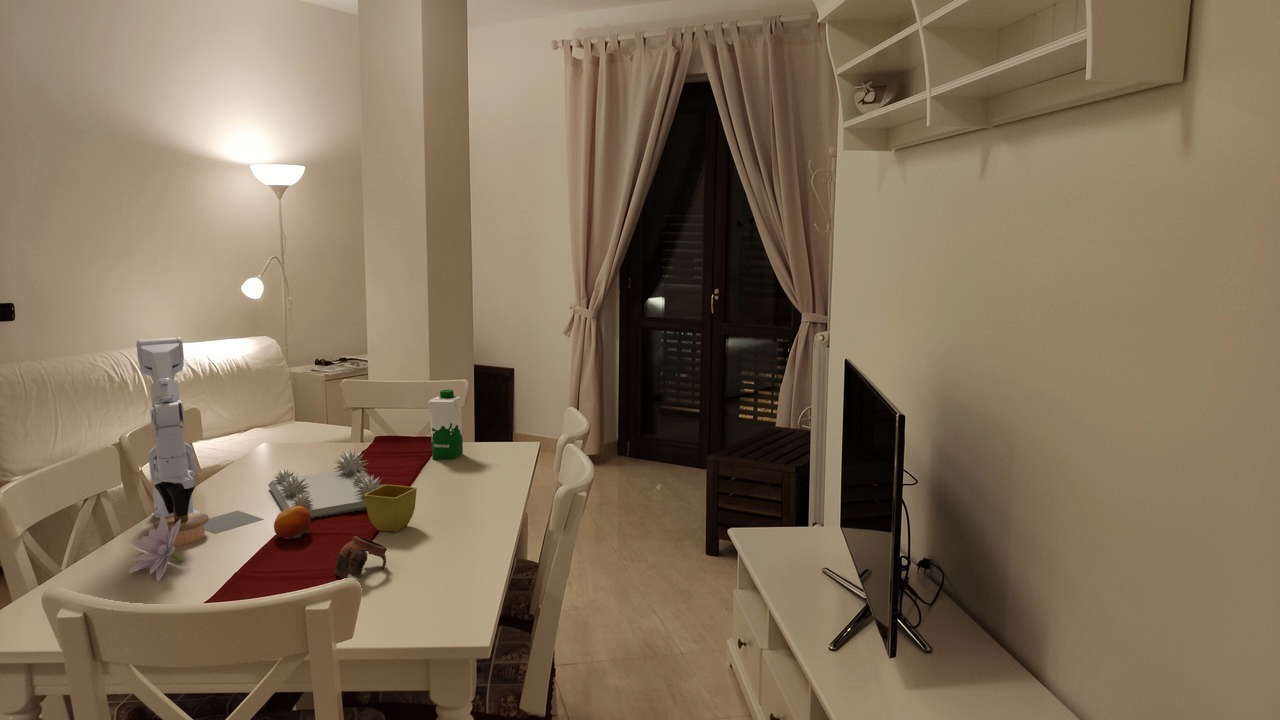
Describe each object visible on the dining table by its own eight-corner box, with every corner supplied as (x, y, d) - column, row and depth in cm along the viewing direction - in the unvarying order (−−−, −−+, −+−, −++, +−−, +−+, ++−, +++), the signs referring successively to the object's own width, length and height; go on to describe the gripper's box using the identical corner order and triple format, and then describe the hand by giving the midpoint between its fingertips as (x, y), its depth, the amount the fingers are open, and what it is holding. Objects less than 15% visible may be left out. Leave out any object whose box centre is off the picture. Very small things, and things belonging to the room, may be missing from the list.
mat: (189, 525, 211) (189, 523, 211) (237, 512, 220) (237, 510, 220) (215, 535, 204) (215, 533, 204) (264, 520, 213) (263, 519, 213)
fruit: (306, 537, 197) (287, 506, 197) (281, 553, 199) (261, 523, 199) (326, 525, 205) (307, 495, 204) (301, 540, 207) (283, 511, 206)
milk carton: (466, 453, 274) (463, 389, 271) (455, 460, 265) (452, 395, 262) (439, 452, 275) (436, 389, 272) (428, 460, 266) (424, 394, 263)
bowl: (147, 541, 201) (145, 526, 200) (191, 529, 208) (190, 514, 208) (168, 550, 195) (166, 535, 194) (213, 537, 202) (211, 522, 202)
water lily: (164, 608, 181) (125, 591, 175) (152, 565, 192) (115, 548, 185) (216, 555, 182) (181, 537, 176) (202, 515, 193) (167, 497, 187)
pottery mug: (333, 569, 183) (350, 531, 184) (376, 586, 184) (393, 548, 186) (326, 576, 171) (345, 535, 173) (373, 593, 173) (391, 553, 174)
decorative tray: (268, 491, 240) (265, 455, 238) (365, 475, 252) (362, 441, 251) (289, 527, 210) (286, 486, 208) (398, 507, 222) (396, 469, 221)
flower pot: (419, 523, 208) (417, 486, 207) (398, 536, 200) (395, 497, 199) (388, 520, 211) (385, 484, 210) (365, 532, 203) (362, 494, 202)
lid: (145, 526, 200) (143, 507, 200) (193, 513, 209) (192, 495, 208) (168, 535, 194) (166, 516, 193) (217, 521, 203) (216, 503, 202)
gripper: (205, 456, 197) (211, 514, 199) (174, 447, 206) (180, 503, 208) (173, 463, 192) (179, 523, 194) (142, 454, 200) (148, 511, 203)
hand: (177, 513), depth 201 cm, fingers open, 3 cm apart
